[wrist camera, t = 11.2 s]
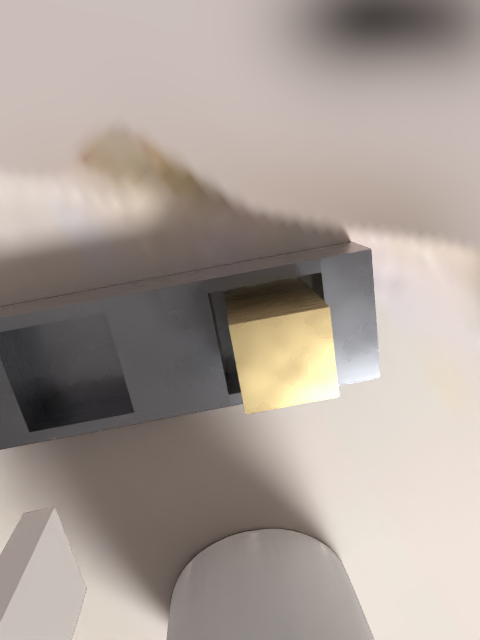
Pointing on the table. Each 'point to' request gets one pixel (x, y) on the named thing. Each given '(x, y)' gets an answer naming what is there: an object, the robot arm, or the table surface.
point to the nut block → (281, 345)
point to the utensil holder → (266, 592)
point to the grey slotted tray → (162, 344)
